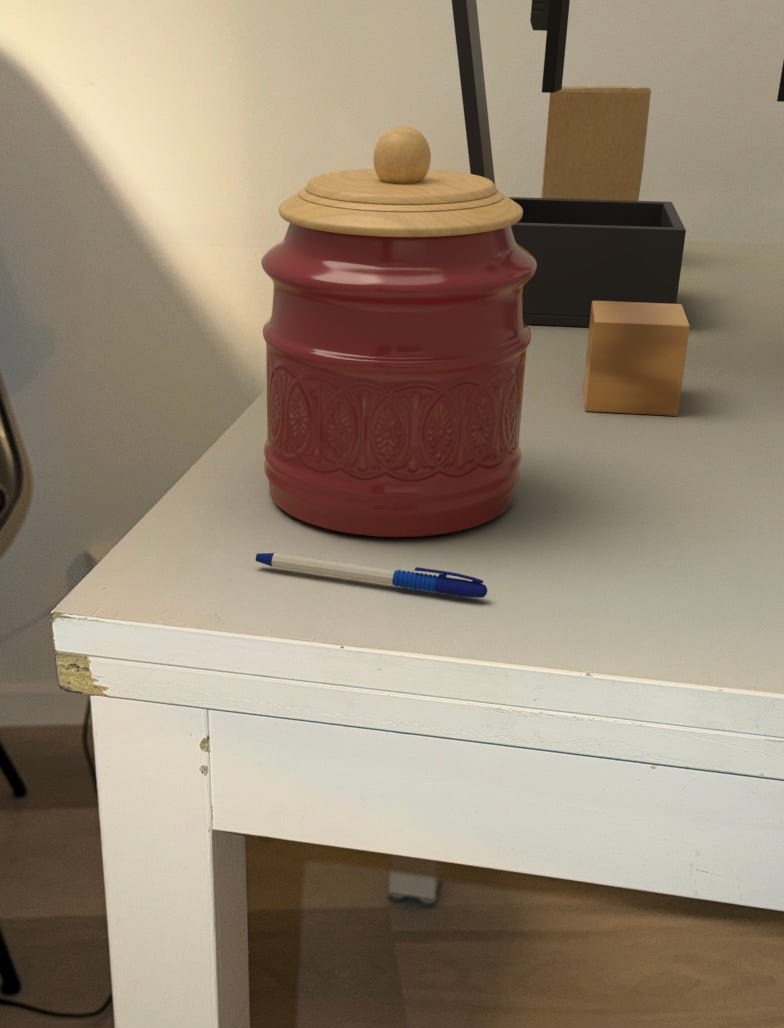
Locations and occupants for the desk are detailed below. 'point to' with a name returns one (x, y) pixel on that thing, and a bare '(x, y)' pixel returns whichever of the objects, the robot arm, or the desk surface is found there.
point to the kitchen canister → (396, 348)
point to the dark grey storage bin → (597, 255)
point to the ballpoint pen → (381, 575)
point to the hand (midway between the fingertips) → (664, 96)
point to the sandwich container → (595, 142)
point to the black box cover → (473, 88)
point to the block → (635, 357)
